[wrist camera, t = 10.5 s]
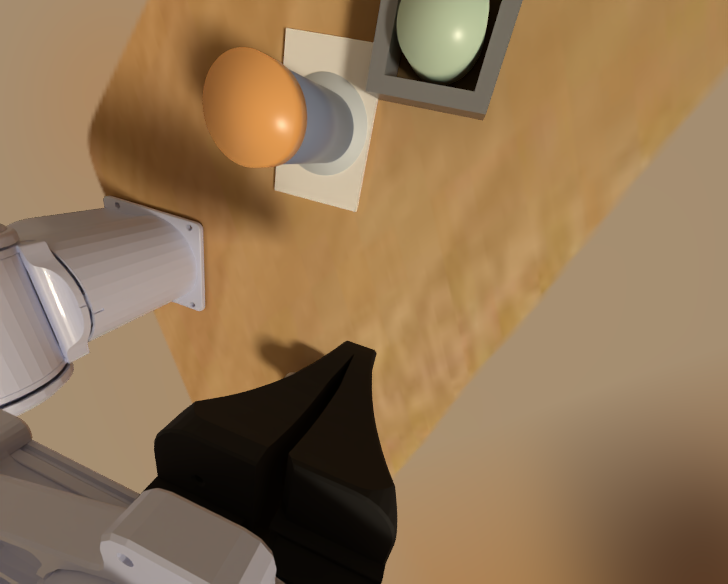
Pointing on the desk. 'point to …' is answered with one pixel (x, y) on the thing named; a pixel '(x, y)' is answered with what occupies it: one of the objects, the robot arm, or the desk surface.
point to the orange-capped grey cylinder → (272, 113)
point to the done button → (442, 37)
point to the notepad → (348, 79)
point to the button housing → (426, 94)
